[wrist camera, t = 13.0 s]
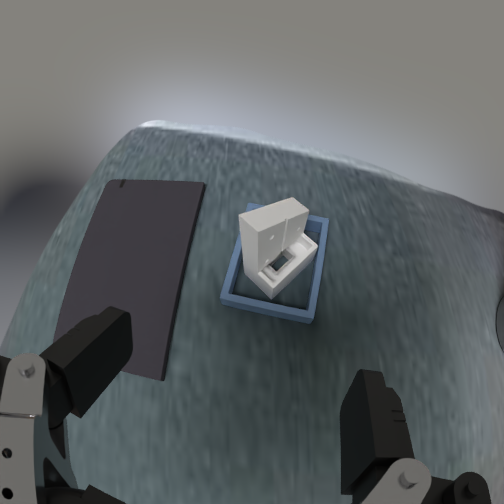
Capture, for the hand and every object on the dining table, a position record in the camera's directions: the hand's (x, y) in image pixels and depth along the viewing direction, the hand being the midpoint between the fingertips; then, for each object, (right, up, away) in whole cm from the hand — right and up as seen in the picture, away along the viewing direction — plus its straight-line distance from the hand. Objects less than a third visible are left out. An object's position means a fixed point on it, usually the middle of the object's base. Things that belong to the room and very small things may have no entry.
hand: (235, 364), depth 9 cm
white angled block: (+3, +2, +20) cm, 20 cm away
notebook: (-12, +2, +20) cm, 24 cm away
